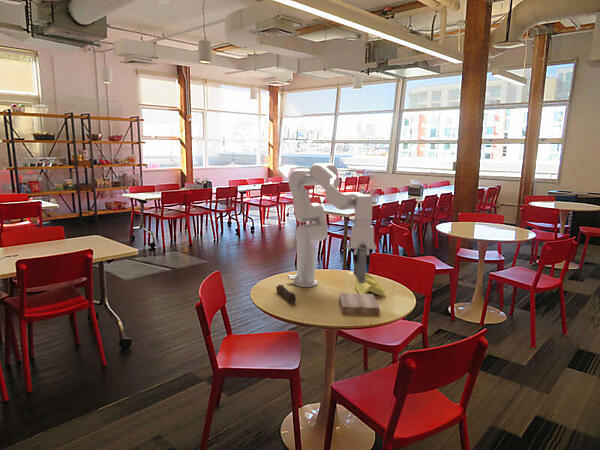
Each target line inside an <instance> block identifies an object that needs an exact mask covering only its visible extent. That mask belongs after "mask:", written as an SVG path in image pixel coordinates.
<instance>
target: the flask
mask: <svg viewBox="0 0 600 450" xmlns="http://www.w3.org/2000/svg"><path fill="white" fill-rule="evenodd" d="M366 255H367V246H365V245H361V246H360V249H357V264H355V261H353V275H354V276H355V278H356V277H357V279H358V282H359V283H365V273H367V272H366V269H367V268H366V267H367V264H366Z"/></svg>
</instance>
